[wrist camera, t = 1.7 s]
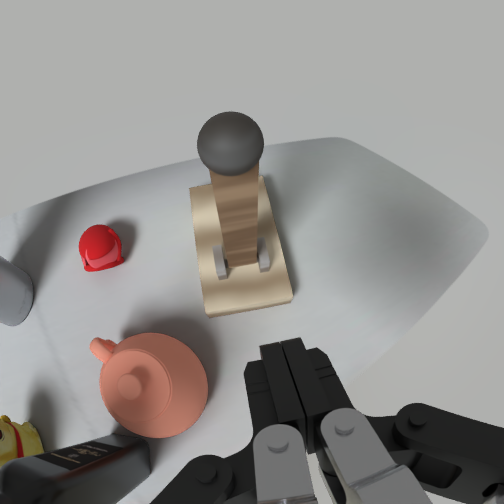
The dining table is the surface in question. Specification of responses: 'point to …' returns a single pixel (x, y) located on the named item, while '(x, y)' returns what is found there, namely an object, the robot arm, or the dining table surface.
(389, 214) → the dining table surface
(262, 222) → the nutcracker base
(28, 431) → the chocolate bunny
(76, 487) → the wine bottle
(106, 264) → the red helmet
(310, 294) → the dining table surface
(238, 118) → the lever
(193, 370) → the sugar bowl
